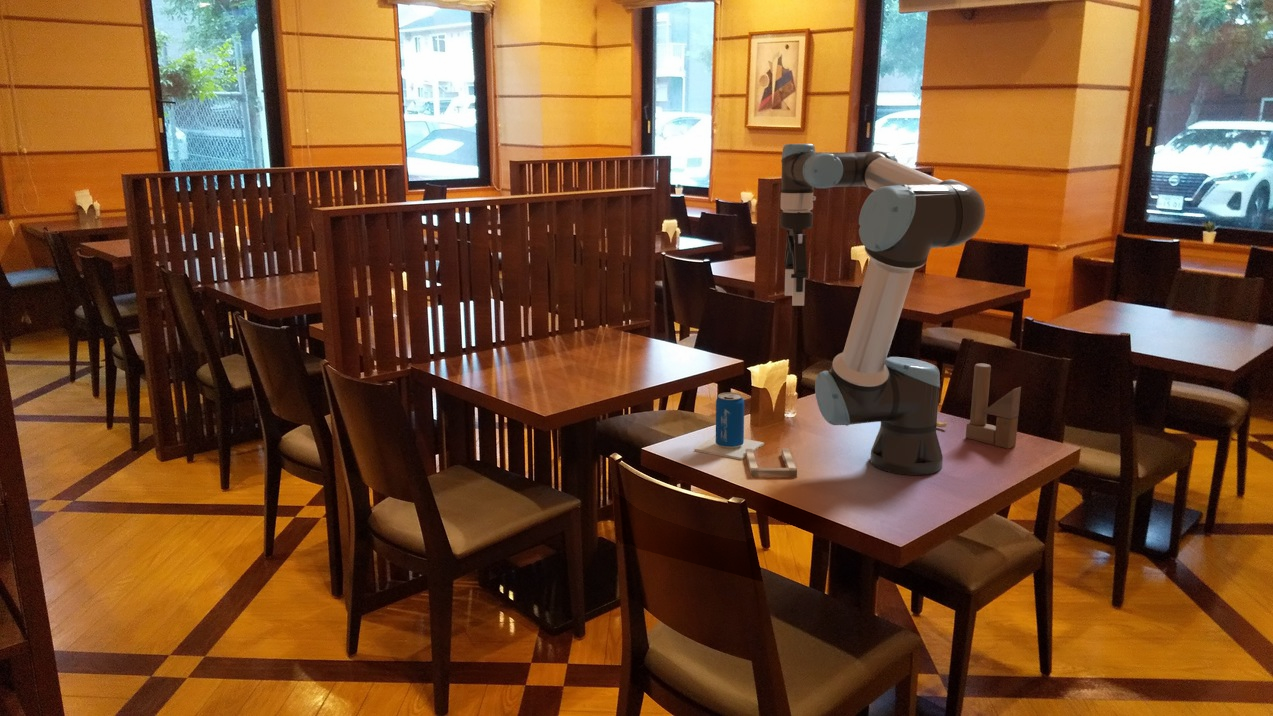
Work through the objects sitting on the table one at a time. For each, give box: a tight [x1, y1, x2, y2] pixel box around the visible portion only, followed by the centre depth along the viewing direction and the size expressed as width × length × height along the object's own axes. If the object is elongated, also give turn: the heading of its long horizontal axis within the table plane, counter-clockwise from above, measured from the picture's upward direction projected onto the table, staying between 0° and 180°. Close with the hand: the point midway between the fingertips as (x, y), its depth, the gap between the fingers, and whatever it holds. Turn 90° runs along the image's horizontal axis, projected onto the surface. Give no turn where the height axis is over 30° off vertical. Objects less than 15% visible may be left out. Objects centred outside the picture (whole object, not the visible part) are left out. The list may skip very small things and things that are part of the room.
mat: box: [693, 435, 765, 461], centre depth 208 cm, size 12×12×1 cm
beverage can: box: [715, 391, 745, 449], centre depth 206 cm, size 6×6×12 cm
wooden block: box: [965, 362, 1022, 450], centre depth 207 cm, size 4×11×18 cm, turn 40°
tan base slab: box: [745, 448, 798, 478], centre depth 196 cm, size 14×10×2 cm
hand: (794, 300), depth 215 cm, fingers open, 13 cm apart
